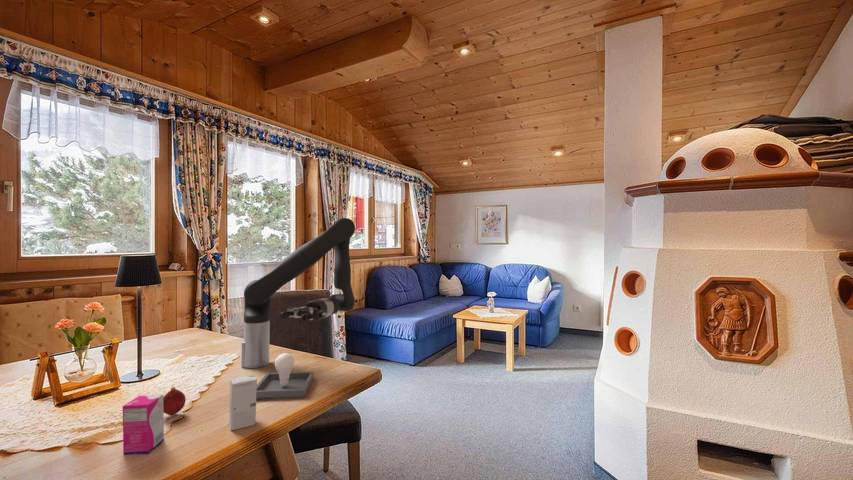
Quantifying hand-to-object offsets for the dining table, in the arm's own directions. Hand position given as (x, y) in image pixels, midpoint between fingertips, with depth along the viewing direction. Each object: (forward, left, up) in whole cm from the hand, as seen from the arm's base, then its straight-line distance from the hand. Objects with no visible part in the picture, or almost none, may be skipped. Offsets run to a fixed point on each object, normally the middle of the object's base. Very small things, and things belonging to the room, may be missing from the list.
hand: (291, 317), depth 124 cm
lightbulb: (-2, -2, -23) cm, 23 cm away
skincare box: (-6, -26, -23) cm, 35 cm away
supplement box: (-25, -35, -23) cm, 49 cm away
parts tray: (-1, -3, -23) cm, 23 cm away
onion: (-27, -19, -23) cm, 41 cm away
